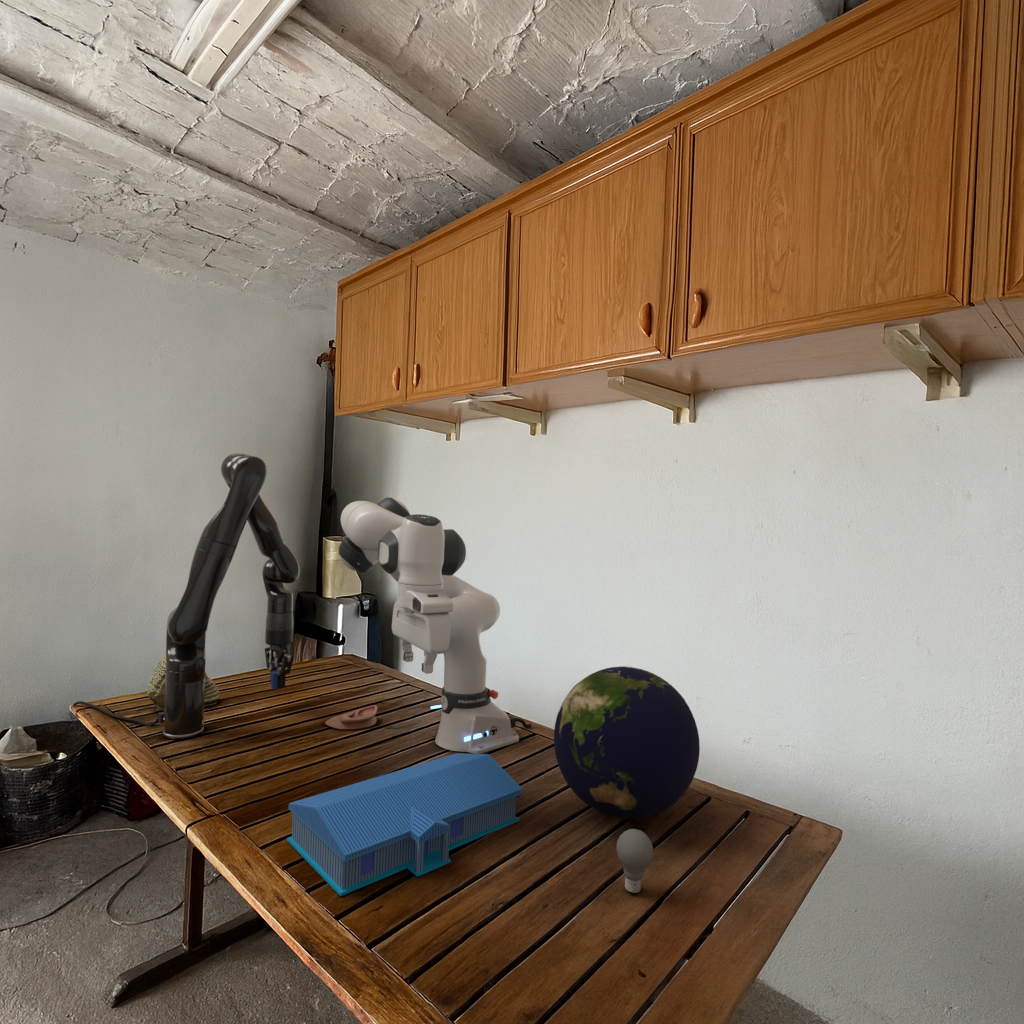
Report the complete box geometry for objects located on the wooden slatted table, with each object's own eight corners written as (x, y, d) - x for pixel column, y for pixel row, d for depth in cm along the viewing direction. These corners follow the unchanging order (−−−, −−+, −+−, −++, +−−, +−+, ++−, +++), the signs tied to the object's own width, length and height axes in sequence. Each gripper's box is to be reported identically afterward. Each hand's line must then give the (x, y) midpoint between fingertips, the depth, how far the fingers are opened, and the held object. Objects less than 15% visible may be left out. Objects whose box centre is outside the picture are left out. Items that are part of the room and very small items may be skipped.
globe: (530, 827, 125) (537, 675, 124) (573, 769, 152) (579, 645, 152) (686, 866, 113) (694, 700, 113) (702, 796, 141) (709, 663, 141)
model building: (350, 906, 98) (352, 842, 98) (285, 839, 117) (287, 785, 116) (531, 827, 125) (533, 776, 125) (455, 782, 143) (457, 738, 143)
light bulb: (610, 879, 108) (613, 822, 108) (644, 879, 109) (647, 822, 109) (619, 902, 102) (622, 840, 102) (655, 901, 103) (658, 840, 103)
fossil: (144, 707, 182) (145, 655, 182) (212, 696, 194) (213, 647, 194) (151, 716, 175) (153, 662, 175) (221, 703, 188) (223, 653, 188)
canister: (276, 684, 186) (277, 669, 186) (287, 686, 185) (287, 670, 185) (268, 688, 183) (268, 672, 183) (278, 689, 182) (279, 673, 182)
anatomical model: (320, 712, 173) (339, 699, 184) (319, 726, 173) (339, 713, 184) (365, 717, 170) (382, 704, 181) (364, 732, 170) (381, 718, 181)
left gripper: (303, 629, 181) (301, 689, 182) (280, 621, 191) (279, 678, 192) (278, 632, 176) (276, 694, 176) (256, 624, 186) (254, 682, 186)
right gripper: (385, 590, 132) (383, 656, 133) (426, 606, 115) (423, 681, 115) (413, 589, 136) (411, 653, 136) (457, 604, 118) (454, 678, 119)
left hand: (277, 685), depth 184 cm, fingers closed on canister, 3 cm apart
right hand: (417, 666), depth 126 cm, fingers open, 8 cm apart
